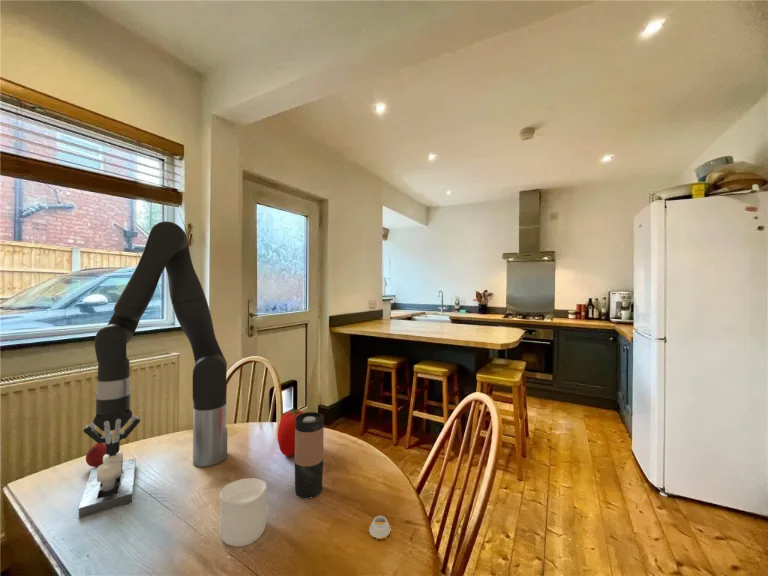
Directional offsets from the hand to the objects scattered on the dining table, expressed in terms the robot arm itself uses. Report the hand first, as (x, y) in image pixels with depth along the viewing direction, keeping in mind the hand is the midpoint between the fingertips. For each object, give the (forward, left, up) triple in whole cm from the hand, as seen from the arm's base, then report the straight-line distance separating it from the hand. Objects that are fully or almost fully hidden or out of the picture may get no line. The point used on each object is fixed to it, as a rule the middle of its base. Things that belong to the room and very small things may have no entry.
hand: (112, 454), depth 93 cm
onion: (+4, -9, -7) cm, 12 cm away
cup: (-26, +42, -7) cm, 50 cm away
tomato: (-48, +15, -7) cm, 51 cm away
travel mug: (-44, +36, -7) cm, 57 cm away
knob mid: (0, +6, -6) cm, 9 cm away
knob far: (0, 0, -6) cm, 6 cm away
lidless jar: (-52, +59, -7) cm, 79 cm away
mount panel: (0, +6, -7) cm, 9 cm away
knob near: (0, +12, -3) cm, 12 cm away
